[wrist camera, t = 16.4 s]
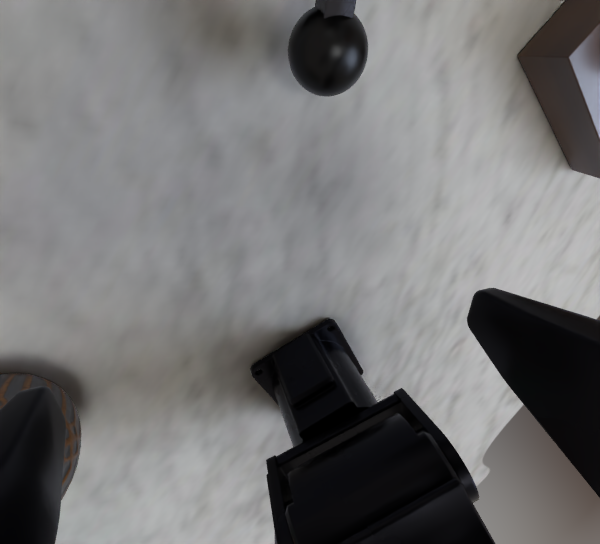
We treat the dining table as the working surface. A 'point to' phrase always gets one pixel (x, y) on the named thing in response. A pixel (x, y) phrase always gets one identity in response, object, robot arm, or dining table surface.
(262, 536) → the dining table surface
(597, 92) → the dial panel
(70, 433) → the vase
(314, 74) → the black ball lever
